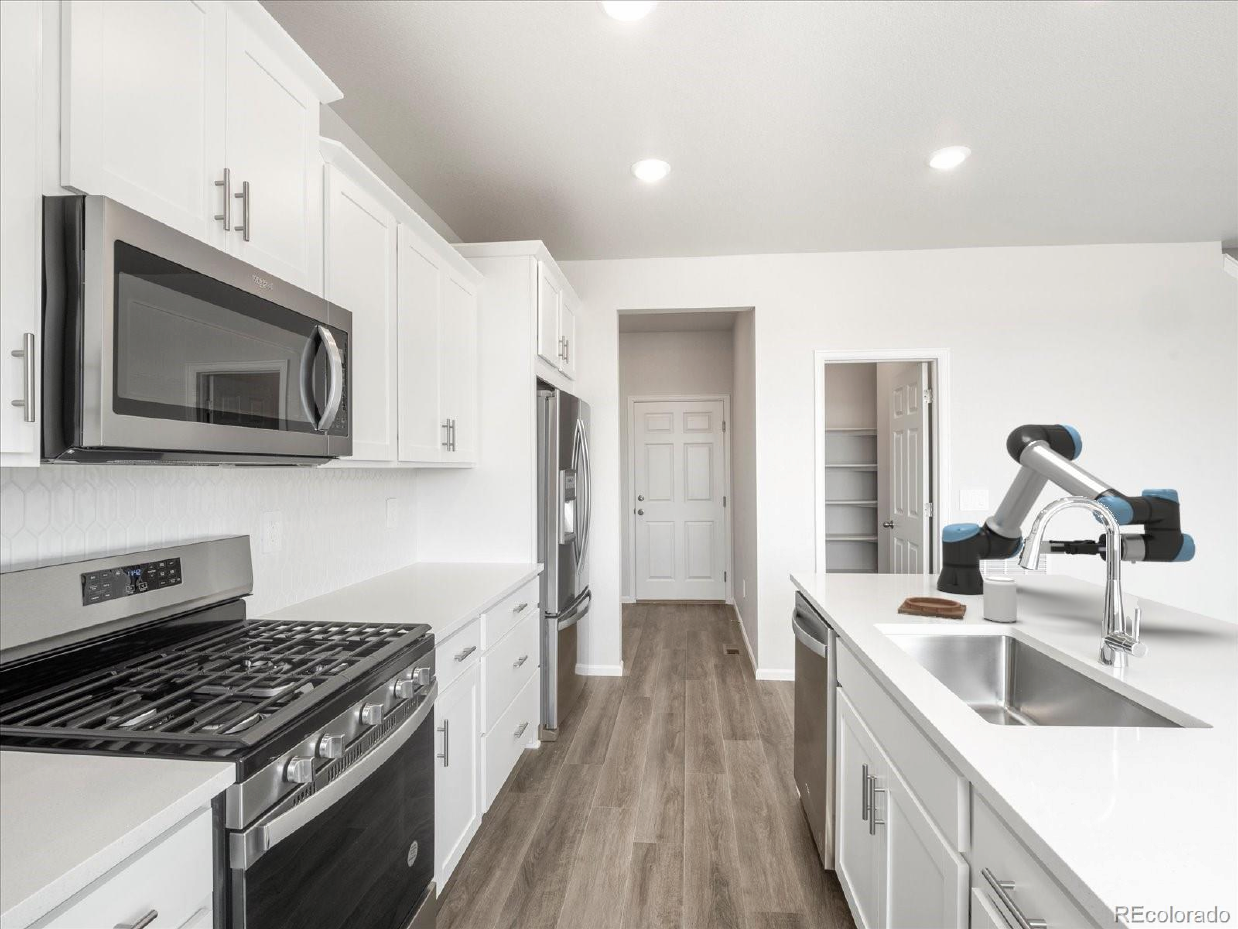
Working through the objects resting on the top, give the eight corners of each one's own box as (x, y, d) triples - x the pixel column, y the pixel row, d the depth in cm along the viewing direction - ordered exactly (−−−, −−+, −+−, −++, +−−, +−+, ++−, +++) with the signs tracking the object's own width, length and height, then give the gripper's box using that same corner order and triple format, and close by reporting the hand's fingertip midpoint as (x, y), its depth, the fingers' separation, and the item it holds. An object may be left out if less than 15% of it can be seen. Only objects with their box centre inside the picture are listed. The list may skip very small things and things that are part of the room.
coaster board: (906, 603, 205) (906, 594, 205) (966, 608, 196) (966, 600, 196) (897, 613, 191) (897, 604, 191) (962, 620, 182) (962, 610, 182)
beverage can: (1007, 617, 185) (1007, 575, 186) (1022, 623, 177) (1022, 580, 178) (978, 616, 186) (978, 575, 186) (991, 623, 178) (991, 580, 178)
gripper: (1140, 565, 161) (1042, 564, 168) (1103, 557, 185) (1018, 556, 192) (1138, 536, 162) (1040, 535, 169) (1101, 531, 185) (1017, 531, 192)
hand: (1028, 546), depth 180 cm, fingers open, 13 cm apart
